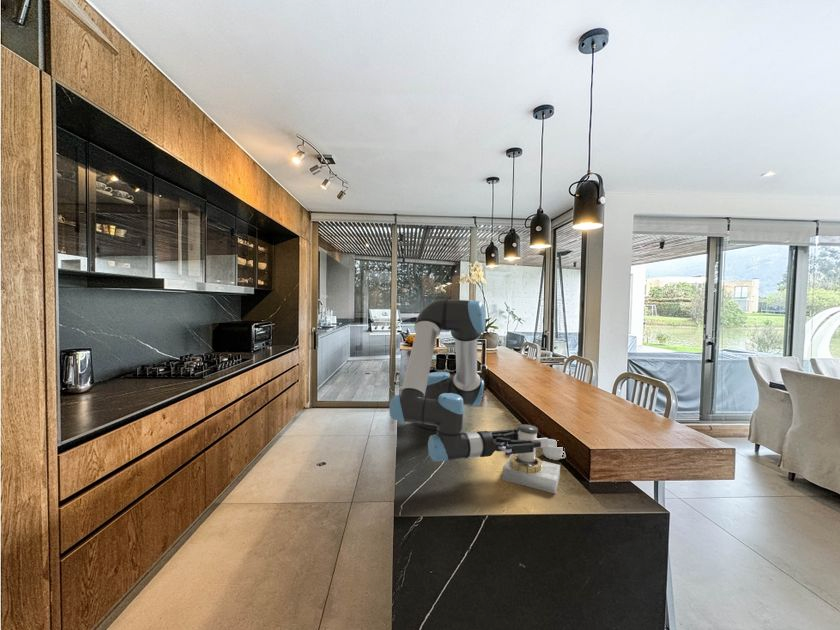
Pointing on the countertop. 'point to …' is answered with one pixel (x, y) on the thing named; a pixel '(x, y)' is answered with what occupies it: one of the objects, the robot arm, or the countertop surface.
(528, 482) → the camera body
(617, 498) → the countertop surface
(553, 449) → the teacup
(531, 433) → the telephoto lens
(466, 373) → the robot arm
